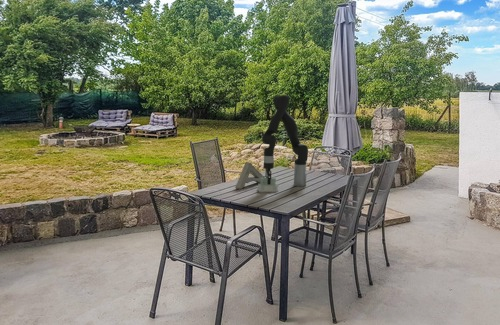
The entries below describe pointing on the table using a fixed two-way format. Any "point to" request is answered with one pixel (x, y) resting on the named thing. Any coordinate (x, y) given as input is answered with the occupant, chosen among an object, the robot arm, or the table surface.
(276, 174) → the table surface
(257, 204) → the table surface
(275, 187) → the rail
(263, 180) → the tapered block
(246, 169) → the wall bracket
